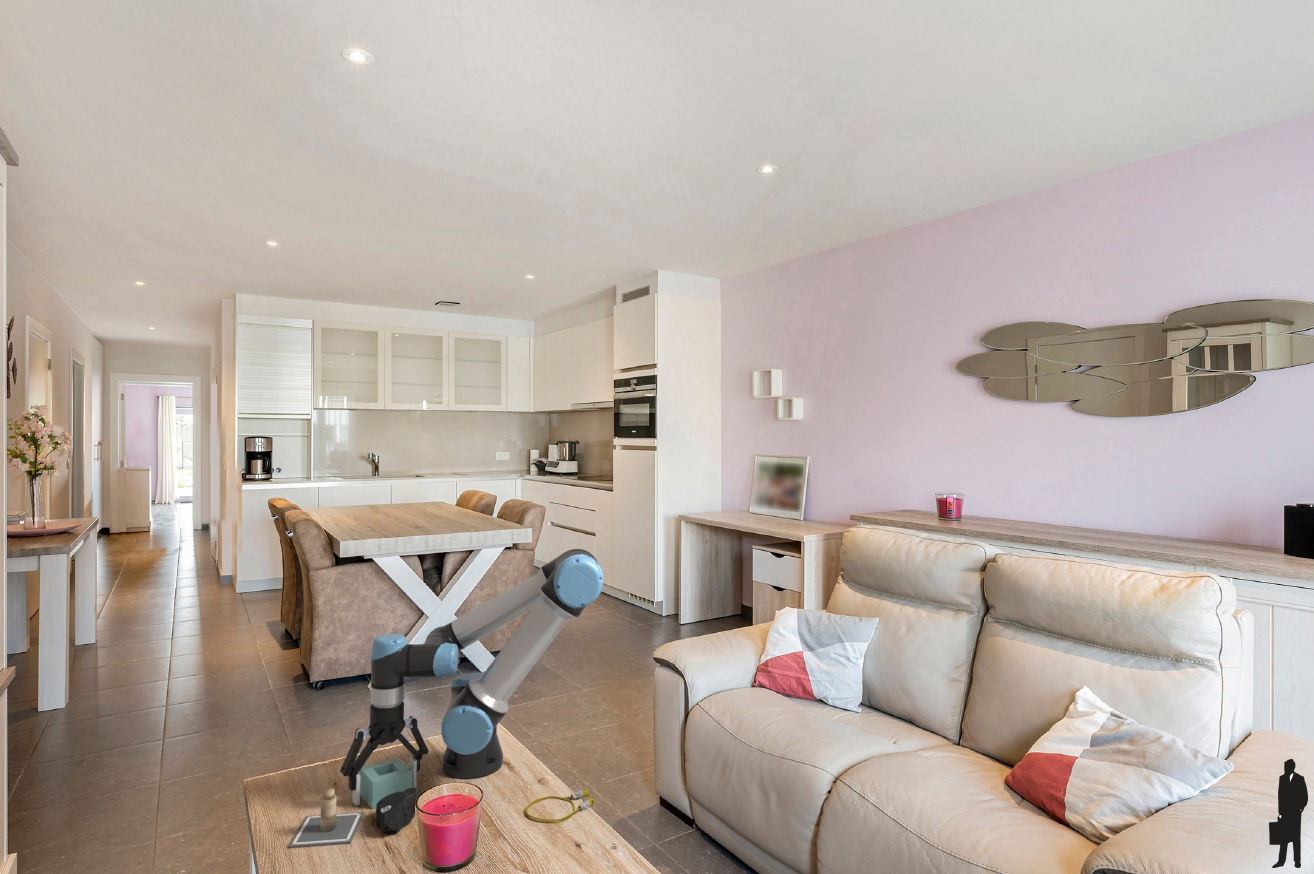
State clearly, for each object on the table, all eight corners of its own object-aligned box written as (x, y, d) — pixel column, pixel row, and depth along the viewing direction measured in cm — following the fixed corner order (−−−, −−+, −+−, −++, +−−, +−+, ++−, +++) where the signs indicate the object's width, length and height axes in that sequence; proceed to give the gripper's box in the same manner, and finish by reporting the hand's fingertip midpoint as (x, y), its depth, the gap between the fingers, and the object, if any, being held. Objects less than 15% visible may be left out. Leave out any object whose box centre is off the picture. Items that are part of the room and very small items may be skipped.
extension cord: (596, 822, 157) (596, 813, 157) (524, 827, 154) (524, 817, 154) (593, 795, 169) (593, 787, 169) (526, 799, 166) (526, 790, 166)
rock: (426, 827, 153) (427, 799, 153) (383, 839, 148) (383, 810, 148) (413, 807, 161) (413, 781, 161) (371, 818, 156) (372, 791, 156)
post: (337, 824, 152) (338, 786, 153) (333, 831, 149) (334, 793, 150) (322, 825, 152) (323, 787, 152) (318, 832, 149) (319, 794, 149)
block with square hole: (397, 782, 172) (398, 757, 172) (411, 796, 166) (412, 770, 166) (359, 793, 167) (360, 767, 167) (372, 808, 160) (372, 781, 160)
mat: (364, 813, 158) (364, 811, 158) (350, 843, 146) (350, 841, 146) (306, 817, 156) (306, 815, 156) (288, 847, 144) (288, 845, 144)
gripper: (431, 687, 177) (429, 773, 177) (327, 709, 161) (324, 803, 161) (444, 695, 171) (441, 784, 171) (337, 719, 156) (334, 817, 155)
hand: (385, 794), depth 166 cm, fingers open, 12 cm apart
